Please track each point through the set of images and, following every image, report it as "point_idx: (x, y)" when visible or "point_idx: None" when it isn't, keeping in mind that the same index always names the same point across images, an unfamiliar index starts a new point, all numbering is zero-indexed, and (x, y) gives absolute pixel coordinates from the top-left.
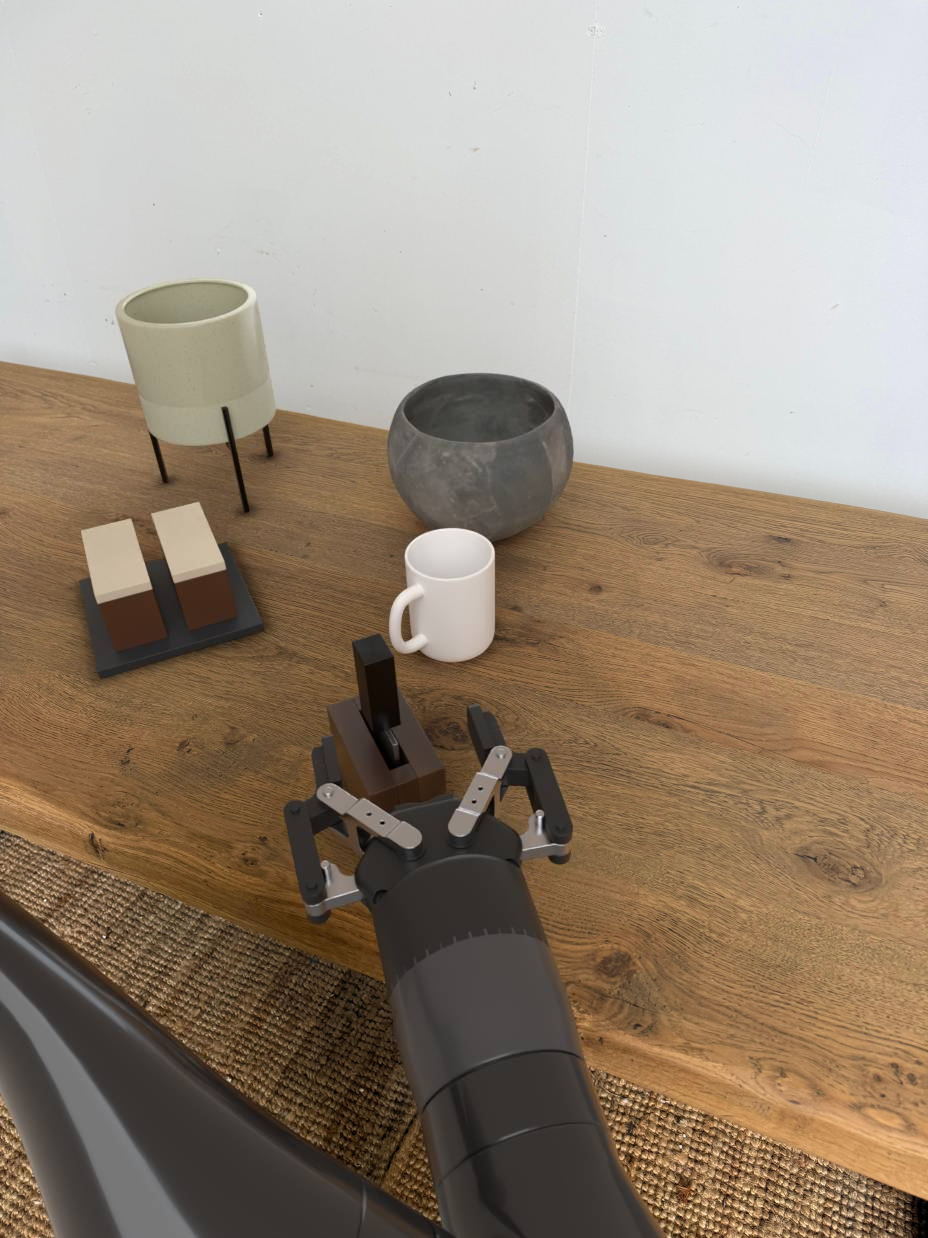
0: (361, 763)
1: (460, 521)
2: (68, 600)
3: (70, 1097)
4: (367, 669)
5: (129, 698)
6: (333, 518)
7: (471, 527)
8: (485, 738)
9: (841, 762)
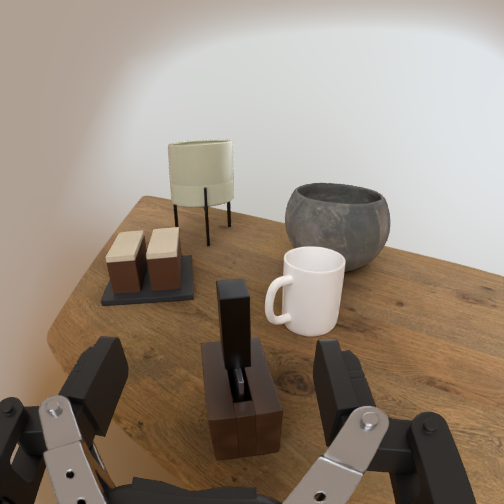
0: (211, 391)
1: None
2: None
3: None
4: (222, 304)
5: (109, 318)
6: (251, 253)
7: None
8: (342, 390)
9: None
